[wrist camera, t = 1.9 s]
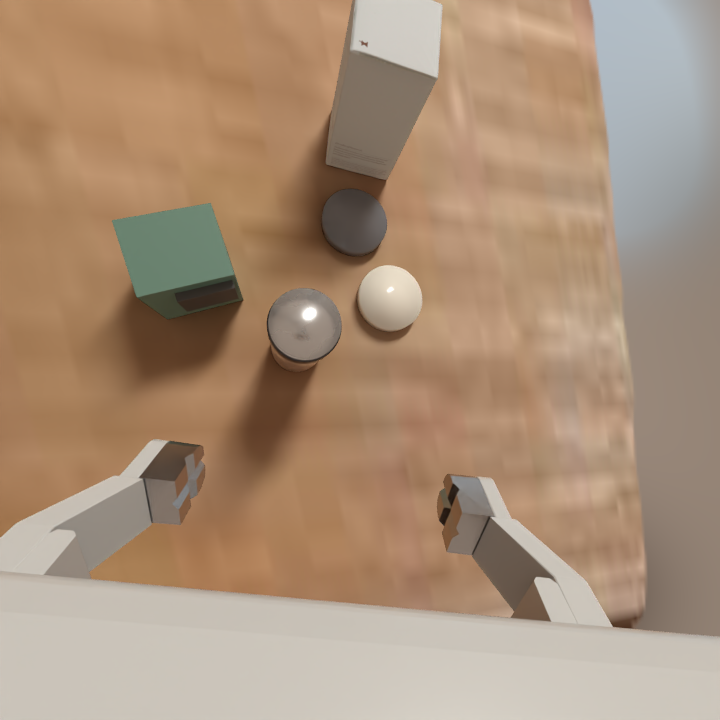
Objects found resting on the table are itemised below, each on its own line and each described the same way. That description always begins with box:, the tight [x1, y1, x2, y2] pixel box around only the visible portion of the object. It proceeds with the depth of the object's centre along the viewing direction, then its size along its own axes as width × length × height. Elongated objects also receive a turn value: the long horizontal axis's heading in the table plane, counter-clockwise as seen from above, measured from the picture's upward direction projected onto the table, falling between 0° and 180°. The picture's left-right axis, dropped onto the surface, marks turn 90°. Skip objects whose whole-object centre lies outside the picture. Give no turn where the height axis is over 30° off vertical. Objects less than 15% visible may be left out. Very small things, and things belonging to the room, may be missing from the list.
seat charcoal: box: [321, 189, 387, 256], centre depth 36 cm, size 7×7×1 cm
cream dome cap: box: [357, 265, 422, 332], centre depth 36 cm, size 7×7×1 cm
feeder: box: [112, 203, 243, 319], centre depth 29 cm, size 7×7×7 cm
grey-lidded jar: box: [267, 288, 341, 372], centre depth 28 cm, size 5×5×11 cm
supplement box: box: [326, 0, 443, 180], centre depth 32 cm, size 7×7×13 cm
